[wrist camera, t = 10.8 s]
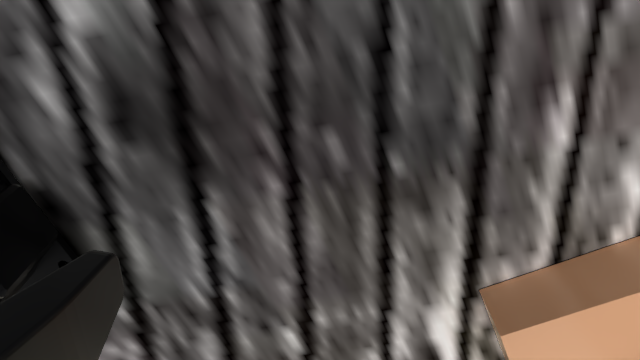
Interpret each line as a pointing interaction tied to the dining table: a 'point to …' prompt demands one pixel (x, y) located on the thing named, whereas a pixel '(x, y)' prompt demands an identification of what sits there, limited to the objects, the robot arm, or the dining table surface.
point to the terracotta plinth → (571, 308)
